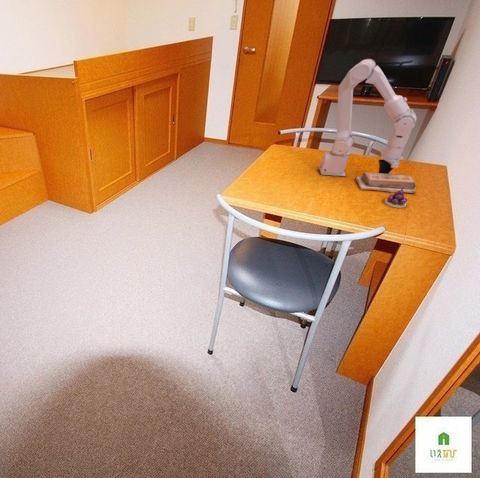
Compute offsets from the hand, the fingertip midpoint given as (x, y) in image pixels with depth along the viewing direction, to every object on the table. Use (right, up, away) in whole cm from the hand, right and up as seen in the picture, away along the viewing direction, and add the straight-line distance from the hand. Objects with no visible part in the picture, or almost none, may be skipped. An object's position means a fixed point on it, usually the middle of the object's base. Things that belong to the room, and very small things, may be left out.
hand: (381, 177), depth 132 cm
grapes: (-7, -12, -14) cm, 20 cm away
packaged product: (-2, -4, -3) cm, 6 cm away
